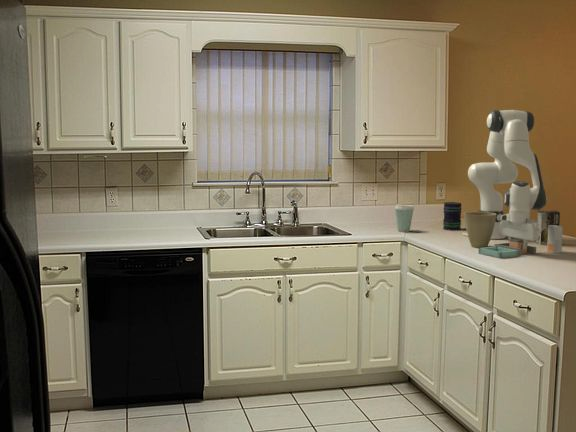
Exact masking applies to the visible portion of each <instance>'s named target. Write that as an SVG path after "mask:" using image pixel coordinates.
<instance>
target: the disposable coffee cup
mask: <svg viewBox="0 0 576 432" xmlns="http://www.w3.org/2000/svg"><path fill="white" fill-rule="evenodd" d="M394 209H395V218H396V225H397V227H396V228H397V231H398V232H400V233H408V232H410V231H411V230H410V229H411V225H412V220H413V214H414V210H415V206H413V205H410V204H399V203H398V204H395V207H394Z"/></svg>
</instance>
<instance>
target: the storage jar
mask: <svg viewBox="0 0 576 432" xmlns="http://www.w3.org/2000/svg"><path fill="white" fill-rule="evenodd" d="M461 214H462V203H461V202H456V201H453V202H452V201H451V202H449V201H448V202H443V219H442V220H443V221H442V225H443V226H442V227H443V228H442V229H443V230H445V231H451V232H453V231H461V230H462V228H461V227H462V219H461V218H462V216H461Z"/></svg>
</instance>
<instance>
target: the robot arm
mask: <svg viewBox="0 0 576 432" xmlns="http://www.w3.org/2000/svg"><path fill="white" fill-rule="evenodd" d="M534 124H535V116H534V114H533V113H532V112H531V111H528V110H517V109H504V110H499V109H497V110H496V109H495V110H491V111H490V112H489V113H488V115H487V117H486V127H487V129H488V130H489V131H490V132H489V137H488V142H487V145H486V152H487V154H488V155H489V156H490V157H492V158H493V159H494V161H493V162H488V161H487V162H486V161H485V162H483V161H482V162H475V163H473V164H471V165H470V166H469V168H468V170H467V177H468V179H469V181H470V182H471V183H473V184H474V185H475V187H476V188H477V190H478V192H479V197H480V209H479V210H477V211H476V212H489V213H495V214H496V220H495V225H494V229H493V233H492V236H491V239H490V240H501V239H505V238H506V237H507V238H508V240H509V239H517V238H518V239H523V242H524V243H523V245H521V249H526V245H528V244H529V243H530V241H531V242H536V241H537V240H538V238H539V232H538V223H537V220H535V219H531V218H530V217H531V210H536V211H541V209H543V208H544V207H545V206H546V204H547V198H548V197H547V194H546V191H545V187H544V182H543V176H542V171H541V168H540V163H539V159H538V157H537V154H535V153H533V151H532V149H531V146H530V135H529V133H530V132H531V131H532V130H533V128H534V126H535V125H534ZM516 164H518V165H521V166H523V167H525V168H527V169H528V170H529V172H530V176H531V182H532V187H531V185H530V183H529V182H527V181H520V180H519V181H518V180H517V178H518V176H519V170H518V169H519V168H517V166H516ZM516 180H517V181H516ZM509 183H511V186H510V187H509V188H507V189H506V190H505V191H504V192H503V193H504V197H503V194H502V193H501V192H500V191H498V190H495V188H494V184H495V185H497V184H500V185H501V184H505V185H506V184H509ZM504 205H505V206H506V207H507V208H508V209H509V210H508V213H506V214H504V210H503V209H504ZM462 235H463V236H467V237H468V234H467V231H465V232H464V231H463V232H462Z"/></svg>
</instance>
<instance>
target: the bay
mask: <svg viewBox="0 0 576 432" xmlns="http://www.w3.org/2000/svg"><path fill="white" fill-rule="evenodd" d="M495 246H498V247H503V248H508V249H513V250H518V251H519V255H518V256H517V257H519V256H521V254H520V251H521V249H519V248H514V247H509V242H504V243H503V242H502V243H494V244H493V247H495ZM527 253H528V254H533V255H535V254H537V247H536V246H533V245H528V244H527ZM527 253H526V254H527Z"/></svg>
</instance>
